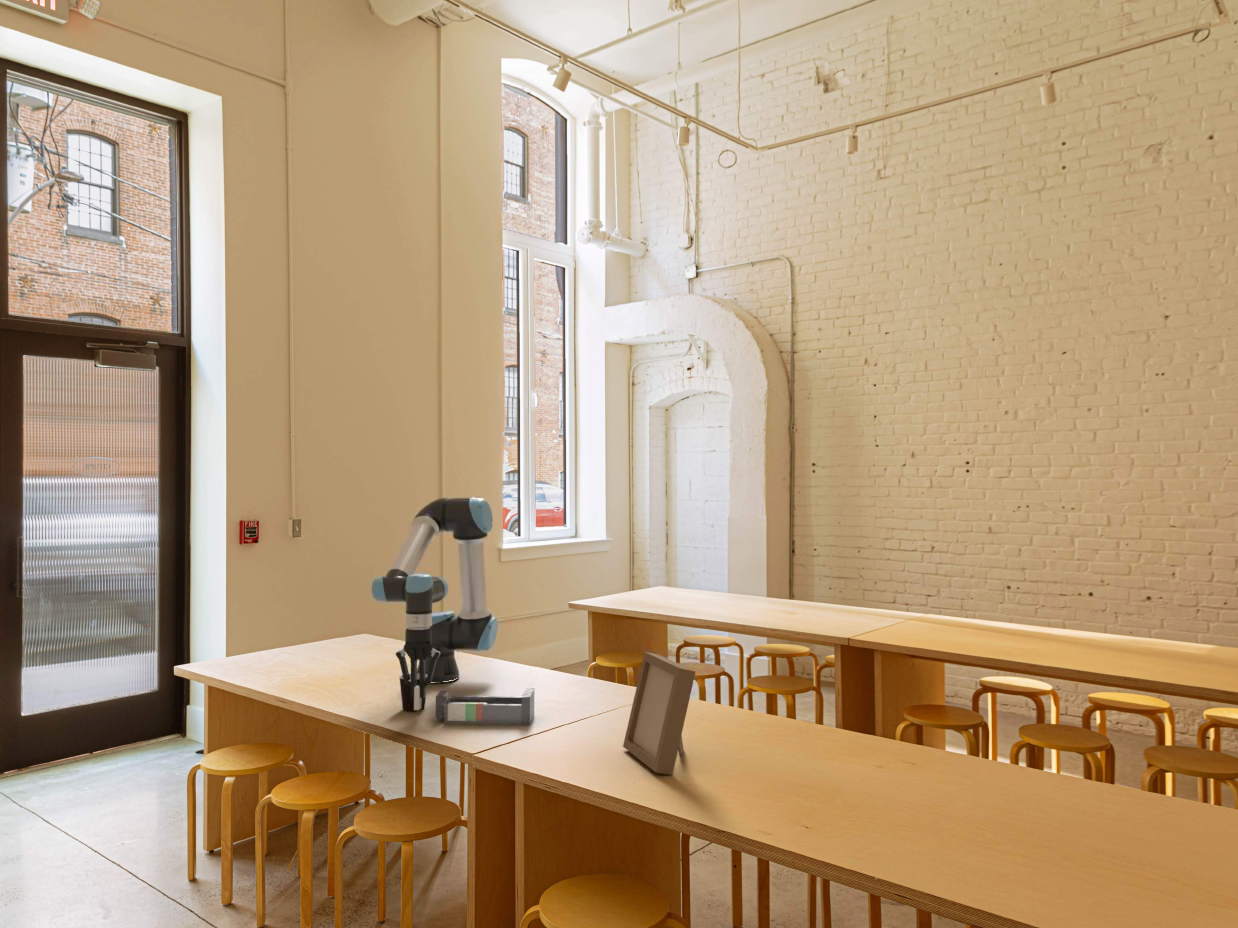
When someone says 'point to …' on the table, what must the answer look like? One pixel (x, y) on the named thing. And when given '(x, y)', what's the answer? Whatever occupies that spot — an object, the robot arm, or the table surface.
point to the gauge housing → (491, 710)
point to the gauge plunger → (442, 700)
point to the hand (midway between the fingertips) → (417, 708)
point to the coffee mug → (406, 696)
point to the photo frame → (659, 712)
